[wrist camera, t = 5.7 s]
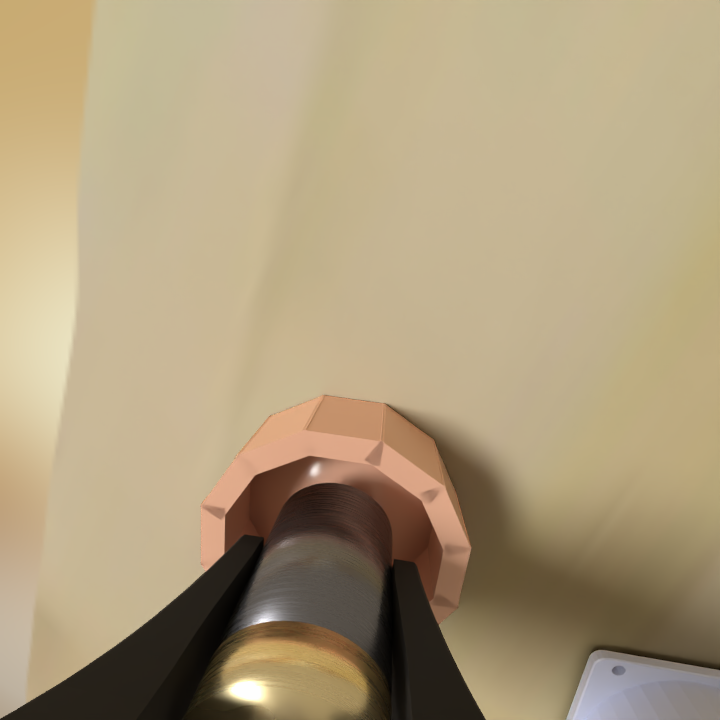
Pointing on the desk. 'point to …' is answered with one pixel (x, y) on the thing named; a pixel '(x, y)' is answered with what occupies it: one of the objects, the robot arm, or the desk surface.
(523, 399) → the desk surface
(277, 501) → the peach round shallow bowl
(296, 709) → the battery
